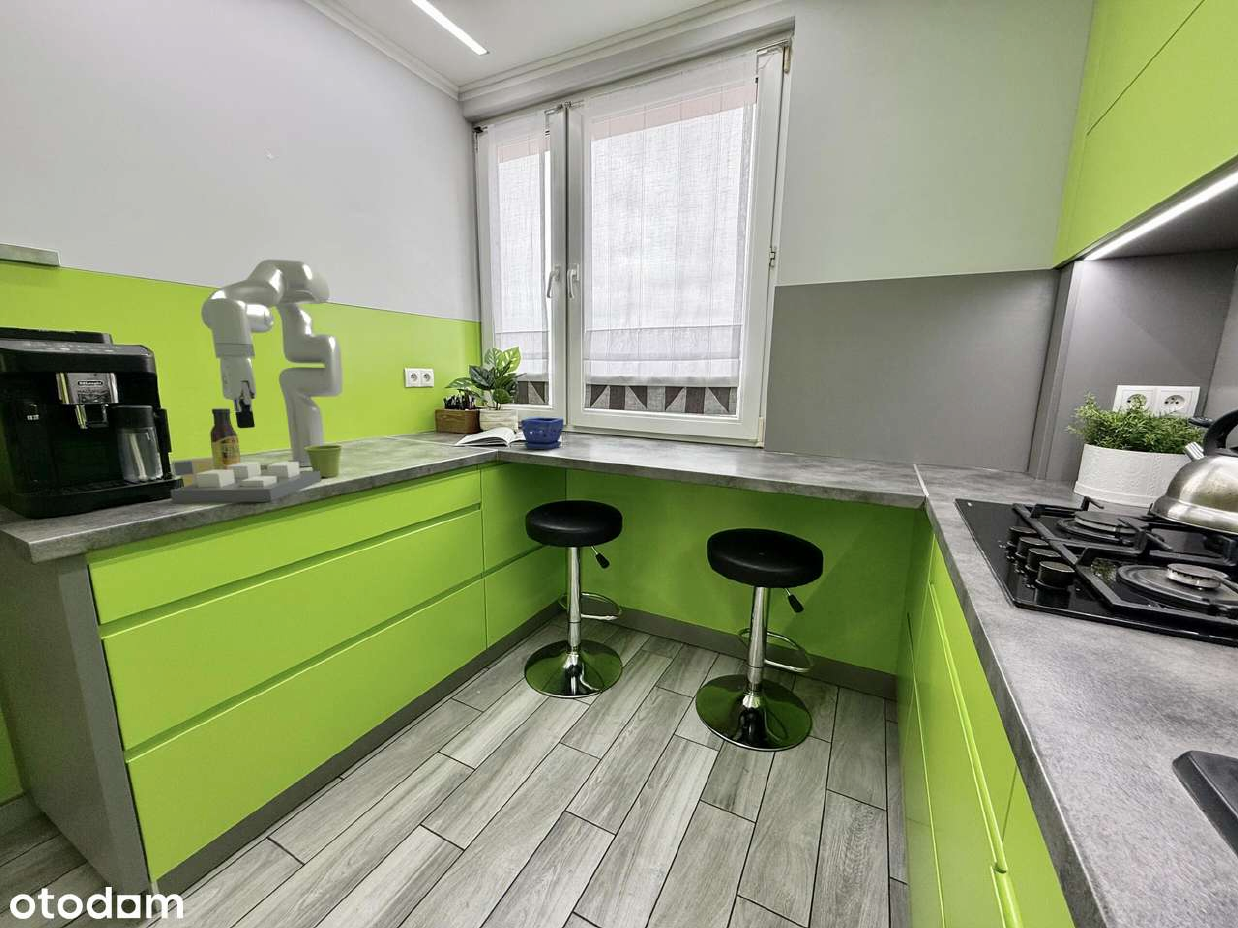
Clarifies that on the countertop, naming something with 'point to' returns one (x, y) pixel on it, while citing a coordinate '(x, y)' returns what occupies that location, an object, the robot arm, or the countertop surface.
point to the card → (191, 468)
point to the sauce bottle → (223, 440)
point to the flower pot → (542, 432)
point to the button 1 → (215, 478)
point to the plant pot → (325, 459)
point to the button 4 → (283, 469)
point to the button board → (245, 490)
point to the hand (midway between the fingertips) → (246, 427)
